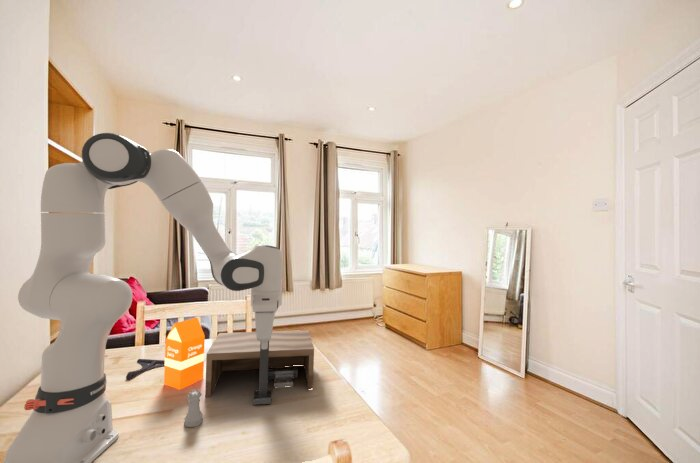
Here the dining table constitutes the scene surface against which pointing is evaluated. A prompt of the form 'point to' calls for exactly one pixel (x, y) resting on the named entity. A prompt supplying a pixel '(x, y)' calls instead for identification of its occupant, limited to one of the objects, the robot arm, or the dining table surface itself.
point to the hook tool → (264, 374)
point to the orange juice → (184, 354)
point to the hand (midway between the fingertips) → (264, 346)
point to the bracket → (145, 367)
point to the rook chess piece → (193, 410)
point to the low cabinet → (258, 354)
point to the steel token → (283, 380)
